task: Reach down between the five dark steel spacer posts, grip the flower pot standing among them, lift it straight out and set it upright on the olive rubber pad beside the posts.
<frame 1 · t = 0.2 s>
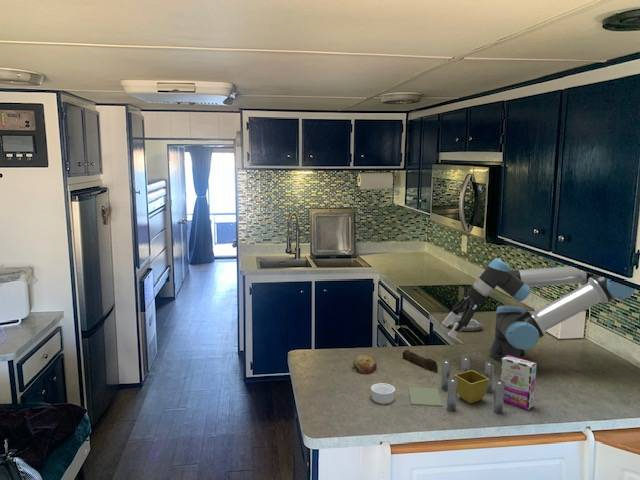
hand: (447, 330, 214), 16 cm above the worktop, tool tilted 35°, fingers open, 13 cm apart
brown wood log: (421, 365, 218), on the worktop
bread roll: (364, 369, 214), on the worktop
flower pot: (470, 400, 187), on the worktop
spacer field: (470, 399, 187), on the worktop
candy bar box: (516, 403, 185), on the worktop
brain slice: (462, 328, 265), on the worktop
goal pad: (424, 397, 189), on the worktop
ramekin: (382, 399, 187), on the worktop
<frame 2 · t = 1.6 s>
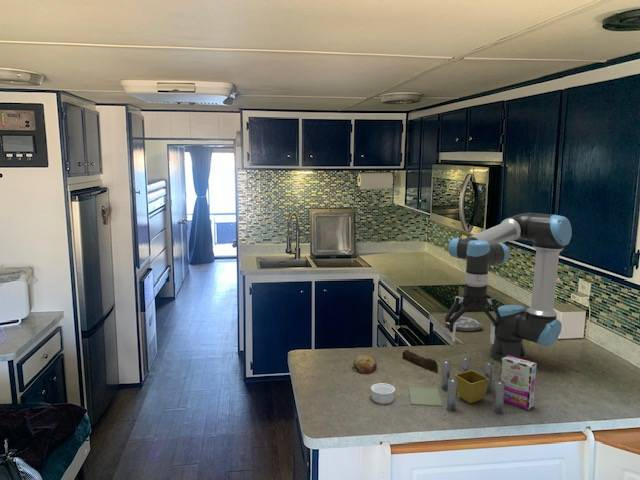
hand: (472, 341, 184), 22 cm above the worktop, tool pointing down, fingers open, 13 cm apart
nothing on the worktop moved.
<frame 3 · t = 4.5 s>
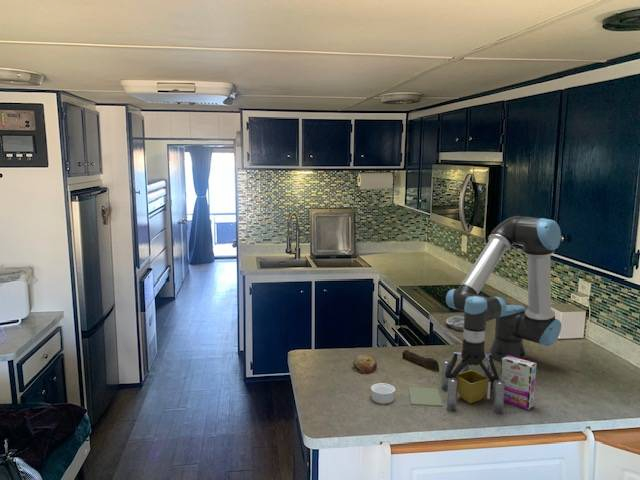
hand: (470, 396, 187), 1 cm above the worktop, tool pointing down, fingers closed on flower pot, 11 cm apart
flower pot: (470, 400, 187), on the worktop, touching gripper
everything else where it was.
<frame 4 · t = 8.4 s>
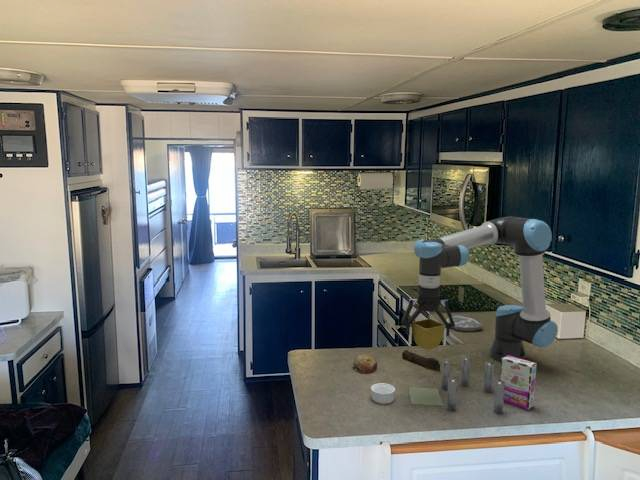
hand: (427, 343, 185), 21 cm above the worktop, tool pointing down, fingers closed on flower pot, 11 cm apart
flower pot: (426, 347, 186), point 19 cm above the worktop, touching gripper
everything else where it was.
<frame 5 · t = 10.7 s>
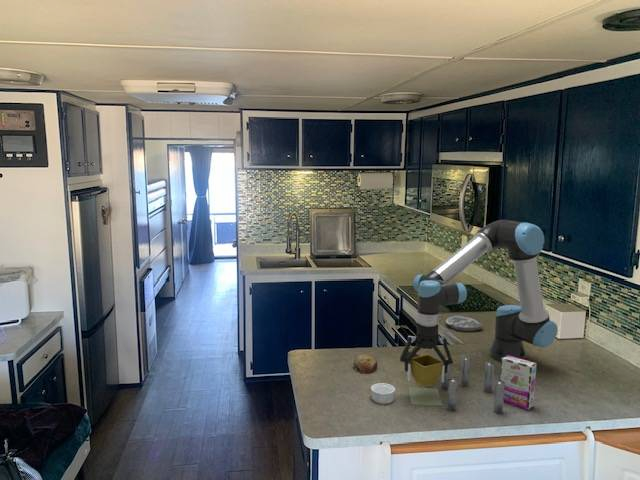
hand: (425, 380, 188), 7 cm above the worktop, tool pointing down, fingers closed on flower pot, 11 cm apart
flower pot: (425, 383, 188), point 5 cm above the worktop, touching gripper
when the fingers open (3 cm above the worktop, at t = 12.6 s): flower pot drops 1 cm, resting on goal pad.
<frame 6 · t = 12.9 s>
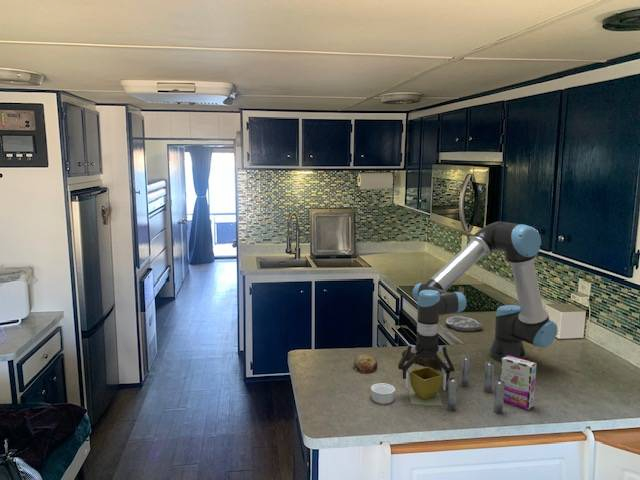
hand: (425, 387, 188), 4 cm above the worktop, tool pointing down, fingers open, 13 cm apart
flower pot: (424, 396, 189), resting on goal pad
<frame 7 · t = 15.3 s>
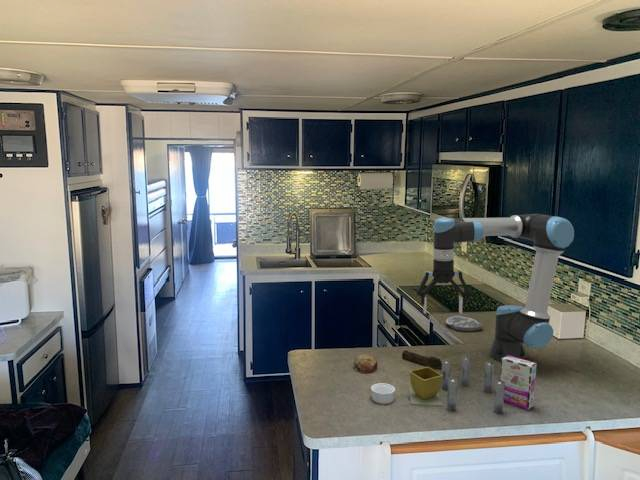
hand: (442, 312, 197), 28 cm above the worktop, tool pointing down, fingers open, 13 cm apart
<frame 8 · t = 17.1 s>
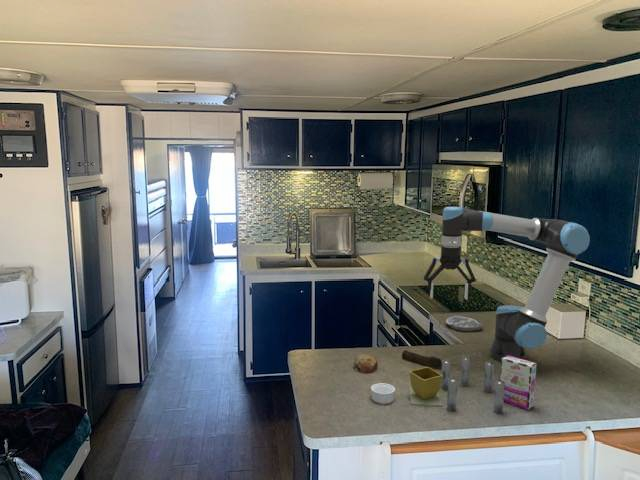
hand: (448, 298, 205), 32 cm above the worktop, tool pointing down, fingers open, 13 cm apart
at the end: flower pot inside the target area on the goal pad (0.1 cm from its centre), point 0.3 cm above the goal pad's base; flower pot tilted 0°; the gripper is holding nothing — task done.
